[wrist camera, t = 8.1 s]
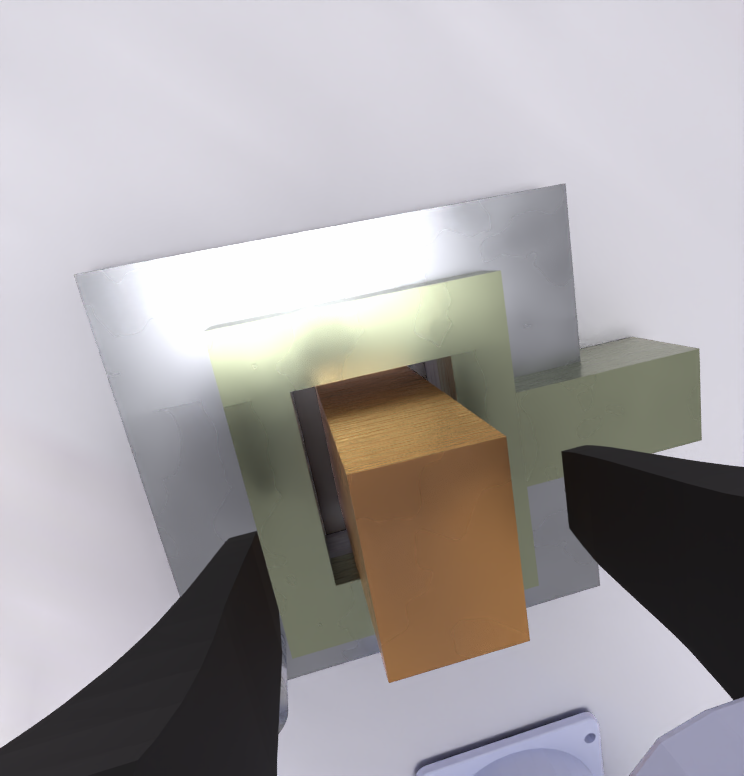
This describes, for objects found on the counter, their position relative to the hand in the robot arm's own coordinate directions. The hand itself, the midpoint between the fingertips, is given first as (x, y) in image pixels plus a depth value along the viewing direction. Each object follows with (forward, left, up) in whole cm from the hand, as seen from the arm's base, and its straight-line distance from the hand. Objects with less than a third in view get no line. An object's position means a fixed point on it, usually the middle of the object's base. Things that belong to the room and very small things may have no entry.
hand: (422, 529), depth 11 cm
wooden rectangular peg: (0, 0, -6) cm, 6 cm away
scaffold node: (0, -2, -6) cm, 6 cm away
